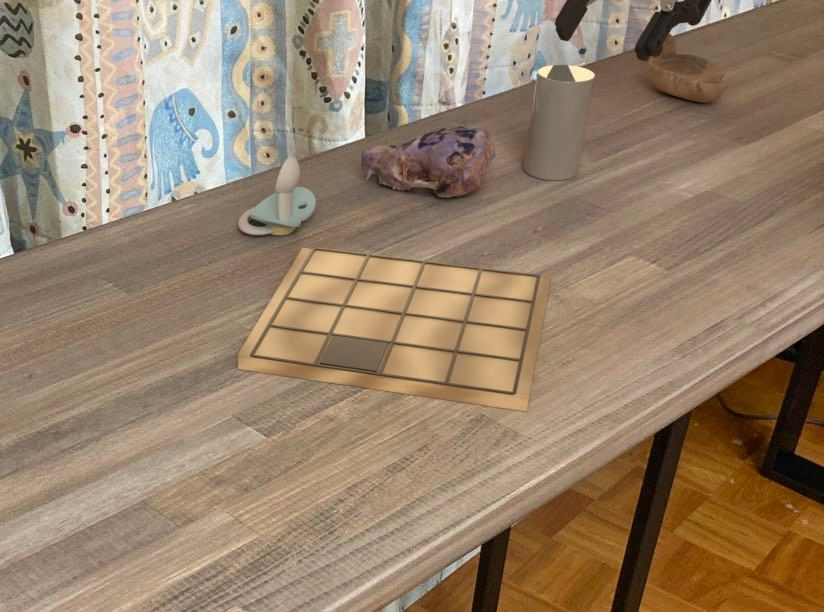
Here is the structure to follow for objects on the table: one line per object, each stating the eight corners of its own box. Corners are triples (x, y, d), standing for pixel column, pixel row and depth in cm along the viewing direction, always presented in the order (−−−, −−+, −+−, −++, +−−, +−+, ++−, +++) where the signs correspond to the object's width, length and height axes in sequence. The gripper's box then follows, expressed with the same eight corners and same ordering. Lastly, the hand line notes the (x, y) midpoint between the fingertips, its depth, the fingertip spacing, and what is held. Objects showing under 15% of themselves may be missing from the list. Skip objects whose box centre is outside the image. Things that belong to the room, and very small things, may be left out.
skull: (348, 184, 103) (358, 114, 100) (374, 167, 110) (384, 101, 106) (475, 211, 100) (489, 141, 97) (494, 192, 106) (508, 125, 103)
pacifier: (225, 238, 96) (290, 248, 94) (221, 165, 92) (289, 174, 90) (259, 207, 101) (322, 215, 99) (257, 136, 97) (322, 144, 95)
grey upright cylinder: (579, 163, 109) (596, 67, 104) (576, 183, 105) (593, 84, 100) (525, 158, 110) (540, 62, 105) (520, 177, 106) (534, 79, 101)
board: (549, 291, 88) (552, 276, 87) (526, 413, 74) (529, 395, 74) (302, 260, 92) (302, 245, 91) (237, 370, 78) (236, 353, 77)
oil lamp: (739, 109, 122) (751, 61, 119) (676, 113, 121) (687, 65, 118) (681, 73, 132) (691, 28, 129) (622, 76, 131) (631, 31, 128)
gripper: (615, -151, 104) (523, 5, 105) (759, -131, 96) (659, 36, 97) (634, -93, 110) (547, 53, 111) (770, -70, 102) (676, 87, 103)
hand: (599, 45), depth 104 cm, fingers open, 8 cm apart
